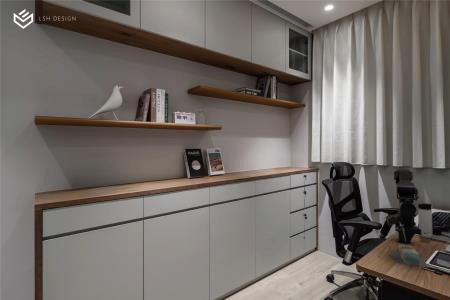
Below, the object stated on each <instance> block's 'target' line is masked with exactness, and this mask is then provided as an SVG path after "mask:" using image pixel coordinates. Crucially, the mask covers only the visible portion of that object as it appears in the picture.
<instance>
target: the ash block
mask: <svg viewBox="0 0 450 300" xmlns="http://www.w3.org/2000/svg"><path fill="white" fill-rule="evenodd" d="M398 248H399V249H398V251H400V256H401V258H402V259H403V261H404V262H405V264H404V265H406V264H410V265H409V266H413V265H417V266H416V267H420V266H419V256H420V254H419V253H418V252H417V251H416V250H415V247H413V246H411V245H404V244H399V247H398Z"/></svg>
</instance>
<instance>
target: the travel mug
mask: <svg viewBox="0 0 450 300" xmlns="http://www.w3.org/2000/svg"><path fill="white" fill-rule="evenodd" d="M432 205H433V204H432V203H418V204H417V215H418V216H417V219H418V220H417V221H418V223H417V224H418V228H419V229H420V230H421V232H422V235H418V236H419V237H421V238H424V239H432V238H433V215H432V213H433V211H432V207H433V206H432Z"/></svg>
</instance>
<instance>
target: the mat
mask: <svg viewBox="0 0 450 300" xmlns="http://www.w3.org/2000/svg"><path fill="white" fill-rule="evenodd" d="M388 251H389V253H390V254H391V256H392V258H393V259H394V261H395V263H396V264H401V265H407V266H411V265H410V264H405V262H404V261H403V259H402V258H401V256H400V250H396V249H388ZM412 266H415V267H420V268H429V269H430V266H429V265H428V264H427V263H426V262H425V261H424V259H423V258H422V257H421V255H419V266H417V265H412Z"/></svg>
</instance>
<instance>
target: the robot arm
mask: <svg viewBox="0 0 450 300" xmlns="http://www.w3.org/2000/svg"><path fill="white" fill-rule="evenodd" d="M413 173H414V172H412V171H410V169H408V168H398V169H396V170H395V171H394V172H393V181H395V182H394V183H395V184H396V187H395V189H396V190H395V191H396V199H397V200H398V207H399V210H398V211H397V214H390V215H386V216H384V218H385V220H386V223H387V224H388V226H393V225H394V231H395V232H397V238H395V240H396V241H397V242H398V243H399V244H403V245H404V244H406V245H414V243H413V242H412V239H413V238H414V236H415V235H417V236H419V235H422V232H421V230H420V229H419V226H417V223H416V222H415V217H416V216H417V215H416V214H417V213H416V212H417V207H416V205H415V201H418V199H419V197H420V196H419V189H418V188H417V187H416V186H415V184H414V182H412V181H413V179H414V177H413V176H414V175H413Z"/></svg>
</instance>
